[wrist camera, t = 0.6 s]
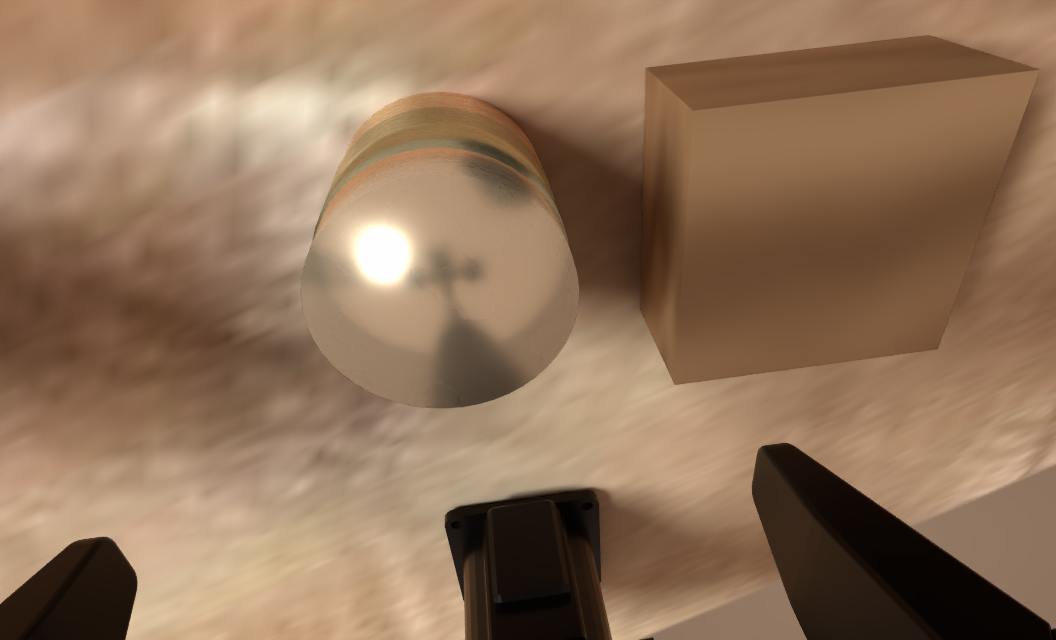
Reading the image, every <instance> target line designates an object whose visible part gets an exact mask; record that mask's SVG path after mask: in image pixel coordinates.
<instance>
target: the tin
mask: <svg viewBox="0 0 1056 640" xmlns="http://www.w3.org/2000/svg"><path fill="white" fill-rule="evenodd" d="M301 301H302V309H303V313H304V317H305V321H306V324H307V326H308V329H309V331H310V333H311V336H312V338H313V340H314V341H315V343H316V344H317V346H318V348H319V349H320V351H321V352H322V353H323V355H324V356H325V357H326V358H327V359H328V361H329V362H330V363H331V364H332V365H333V366H334V367H335V368H336V369H337V370H338V371H339V372H340V373H341V374H343V375H344V376H345V377H347V378H348V379H349V380H351V381H352V382H354V383H355V384H357V385H358V386H360V387H362V388H364V389H365V390H367V391H369V392H371V393H373V394H376V395H378V396H380V397H382V398H385V399H388V400H391V401H395V402H398V403H402V404H406V405H411V406H417V407H426V408H456V407H465V406H471V405H476V404H481V403H484V402H487V401H491V400H494V399H497V398H499V397H502V396H504V395H507V394H509V393H511V392H513V391H515V390H516V389H518V388H520V387H522V386H524V385H525V384H526V383H528V382H529V381H531V380H532V379H534V378H535V377H536V376H537V375H539V374H540V373H541V372H542V371H543V370H544V369H546V368H547V366H548V365H549V364H550V363H551V362H552V361H553V360H554V359H555V358H556V356H557V355H558V353H559V352H560V351H561V349H562V348H563V346H564V345H565V343H566V341H567V339H568V337H569V335H570V333H571V331H572V328H573V325H574V322H575V319H576V315H577V309H578V304H579V284H578V276H577V271H576V267H575V264H574V260H573V257H572V254H571V251H570V248H569V245H568V238H567V235H566V231H565V227H564V224H563V221H562V218H561V215H560V213H559V210H558V207H557V204H556V201H555V198H554V195H553V193H552V190H551V187H550V184H549V181H548V178H547V176H546V174H545V172H544V169H543V167H542V165H541V163H540V160H539V158H538V156H537V153H536V151H535V149H534V147H533V145H532V144H531V142H530V140H529V139H528V137H527V136H526V134H525V133H524V132H523V131H522V130H521V128H520V127H519V126H518V125H517V124H516V123H515V122H514V121H513V120H512V119H511V118H509V117H508V116H507V115H506V114H504V113H503V112H501V111H500V110H499V109H497V108H495V107H493V106H492V105H490V104H488V103H486V102H484V101H481V100H479V99H476V98H473V97H470V96H466V95H461V94H457V93H447V92H431V93H422V94H417V95H412V96H409V97H406V98H403V99H400V100H397V101H395V102H393V103H391V104H389V105H387V106H385V107H384V108H382V109H381V110H380V111H378V112H377V113H375V114H374V115H373V116H372V117H371V118H369V119H368V120H367V121H366V122H365V123H364V124H363V125H362V127H361V128H360V129H359V130H358V132H357V133H356V134H355V136H354V138H353V139H352V141H351V143H350V144H349V146H348V149H347V151H346V154H345V156H344V158H343V160H342V162H341V163H340V165H339V167H338V170H337V172H336V175H335V177H334V180H333V182H332V185H331V188H330V190H329V193H328V196H327V198H326V201H325V203H324V206H323V209H322V211H321V214H320V217H319V219H318V222H317V225H316V228H315V232H314V237H313V241H312V245H311V247H310V250H309V253H308V255H307V258H306V261H305V265H304V269H303V274H302V280H301Z"/></svg>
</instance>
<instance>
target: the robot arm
mask: <svg viewBox="0 0 1056 640" xmlns="http://www.w3.org/2000/svg"><path fill="white" fill-rule="evenodd" d="M752 495H753V499H754V503H755V506H756V509H757V511H758V514H759V517H760V520H761V523H762V526H763V528H764V531H765V534H766V537H767V540H768V543H769V545H770V548H771V551H772V554H773V557H774V560H775V562H776V565H777V568H778V571H779V574H780V577H781V579H782V582H783V585H784V588H785V590H786V593H787V596H788V598H789V601H790V604H791V606H792V608H793V610H794V613H795V615H796V617H797V619H798V621H799V624H800V626H801V627H802V630H803V632H804V634H805V636H806V638H807V640H1056V628H1054V629H1051V626H1050V624H1049V623H1048V622H1047V621H1045V620H1044V619H1042V618H1041V617H1039V616H1038V615H1037V614H1035V613H1034V612H1032V611H1031V610H1029V609H1028V608H1027V607H1025V606H1023V605H1022V604H1021V603H1019V602H1018V601H1016V600H1015V599H1013V598H1012V597H1011V596H1009V595H1008V594H1006V593H1005V592H1003V591H1002V590H1001V589H999V588H998V587H996V586H995V585H993V584H992V583H991V582H989V581H988V580H986V579H985V578H983V577H982V576H980V575H979V574H978V573H976V572H975V571H973V570H972V569H970V568H969V567H968V566H966V565H965V564H963V563H962V562H960V561H959V560H957V559H956V558H954V557H953V556H952V555H950V554H949V553H947V552H946V551H944V550H943V549H942V548H940V547H939V546H937V545H936V544H935V543H933V542H932V541H930V540H929V539H927V538H926V537H924V536H923V535H922V534H920V533H919V532H917V531H916V530H914V529H913V528H911V527H910V526H909V525H907V524H906V523H904V522H903V521H901V520H900V519H899V518H897V517H896V516H894V515H893V514H891V513H890V512H888V511H887V510H886V509H884V508H883V507H881V506H880V505H878V504H877V503H876V502H874V501H873V500H871V499H870V498H868V497H867V496H865V495H864V494H863V493H861V492H860V491H858V490H857V489H855V488H854V487H853V486H851V485H850V484H848V483H847V482H845V481H844V480H842V479H841V478H840V477H838V476H837V475H835V474H834V473H832V472H831V471H830V470H828V469H827V468H825V467H824V466H822V465H821V464H819V463H818V462H817V461H815V460H814V459H812V458H811V457H809V456H808V455H807V454H805V453H804V452H802V451H801V450H799V449H798V448H796V447H795V446H793V445H791V444H789V443H779V444H772V445H765V446H762V447H761V448H760V449H759V450H758V453H757V457H756V463H755V469H754V475H753V481H752ZM445 529H446V533H447V537H448V541H449V545H450V549H451V553H452V557H453V561H454V565H455V569H456V573H457V577H458V581H459V584H460V588H461V592H462V596H463V600H464V607H465V640H612V637H611V632H610V628H609V623H608V619H607V614H606V610H605V605H604V601H603V596H602V592H601V587H600V582H601V562H600V527H599V503H598V499H597V496H596V494H595V493H594V492H592V491H581V492H574V493H567V494H560V495H553V496H545V497H538V498H531V499H524V500H517V501H510V502H503V503H496V504H489V505H482V506H475V507H468V508H461V509H455V510H451V511H449V512H448V513H447V514H446V515H445ZM136 592H137V576H136V573H135V571H134V569H133V567H132V566H131V565H130V563H129V562H128V560H127V559H126V557H125V556H124V555H123V553H122V552H121V550H120V549H119V547H118V546H117V545H116V543H115V542H114V541H113V540H112V539H110V538H108V537H97V538H89V539H82V540H78V541H75V542H73V543H71V544H70V545H69V546H67V547H66V548H65V549H64V550H63V551H61V552H60V553H59V554H58V555H57V556H56V557H54V558H53V559H52V560H51V561H50V562H49V563H47V564H46V565H45V566H44V567H43V568H42V569H40V570H39V571H38V572H37V573H36V574H35V575H33V576H32V577H31V578H30V579H29V580H28V581H26V582H25V583H24V584H23V585H22V586H21V587H19V588H18V589H17V590H16V591H15V592H14V593H12V594H11V595H10V596H9V597H8V598H7V599H5V600H4V601H3V602H2V603H1V604H0V640H125V639H126V635H127V631H128V626H129V622H130V618H131V613H132V609H133V605H134V600H135V596H136ZM641 640H654V639H653V637H652V638H646V639H641Z"/></svg>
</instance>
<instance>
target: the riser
mask: <svg viewBox="0 0 1056 640" xmlns="http://www.w3.org/2000/svg"><path fill="white" fill-rule="evenodd" d="M1039 72H1040V69H1036V68H1033V67H1030V66H1027V65H1023V64H1020V63H1017V62H1014V61H1010V60H1007V59H1004V58H1001V57H997V56H994V55H991V54H988V53H984V52H981V51H978V50H975V49H971V48H968V47H965V46H962V45H959V44H955V43H952V42H949V41H946V40H942V39H939V38H936V37H933V36H929V35H928V36H919V37H910V38H902V39H893V40H884V41H876V42H867V43H858V44H850V45H841V46H832V47H824V48H815V49H806V50H798V51H789V52H780V53H771V54H763V55H754V56H745V57H737V58H728V59H719V60H711V61H702V62H693V63H685V64H676V65H667V66H659V67H650V68H646V88H645V131H644V174H643V217H642V261H641V304H640V310H641V312H642V315H643V317H644V319H645V321H646V323H647V325H648V328H649V330H650V332H651V334H652V336H653V338H654V341H655V343H656V345H657V347H658V349H659V351H660V354H661V356H662V358H663V360H664V362H665V364H666V367H667V369H668V371H669V373H670V375H671V378H672V380H673V382H674V384H675V385H678V384H686V383H693V382H700V381H708V380H715V379H722V378H730V377H737V376H744V375H752V374H759V373H766V372H774V371H781V370H788V369H796V368H803V367H810V366H818V365H825V364H832V363H840V362H847V361H854V360H862V359H869V358H876V357H884V356H891V355H898V354H906V353H913V352H920V351H928V350H935V349H938V347H939V344H940V342H941V339H942V336H943V333H944V331H945V328H946V325H947V323H948V320H949V317H950V314H951V312H952V309H953V306H954V303H955V301H956V298H957V295H958V293H959V290H960V287H961V284H962V282H963V279H964V276H965V273H966V271H967V268H968V265H969V263H970V260H971V257H972V254H973V252H974V249H975V246H976V243H977V241H978V238H979V235H980V233H981V230H982V227H983V224H984V222H985V219H986V216H987V213H988V211H989V208H990V205H991V203H992V200H993V197H994V194H995V192H996V189H997V186H998V183H999V181H1000V178H1001V175H1002V173H1003V170H1004V167H1005V164H1006V162H1007V159H1008V156H1009V153H1010V151H1011V148H1012V145H1013V143H1014V140H1015V137H1016V134H1017V132H1018V129H1019V126H1020V123H1021V121H1022V118H1023V115H1024V113H1025V110H1026V107H1027V104H1028V102H1029V99H1030V96H1031V93H1032V91H1033V88H1034V85H1035V83H1036V80H1037V77H1038V74H1039Z"/></svg>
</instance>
